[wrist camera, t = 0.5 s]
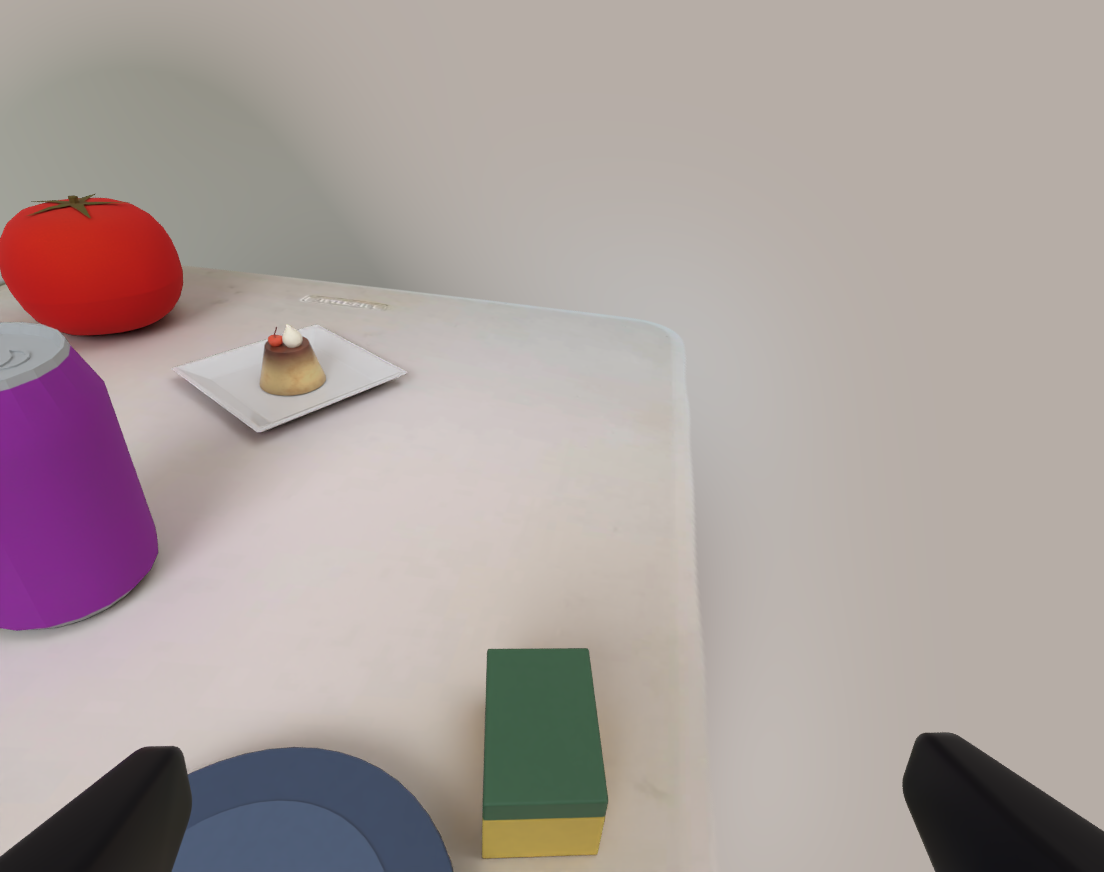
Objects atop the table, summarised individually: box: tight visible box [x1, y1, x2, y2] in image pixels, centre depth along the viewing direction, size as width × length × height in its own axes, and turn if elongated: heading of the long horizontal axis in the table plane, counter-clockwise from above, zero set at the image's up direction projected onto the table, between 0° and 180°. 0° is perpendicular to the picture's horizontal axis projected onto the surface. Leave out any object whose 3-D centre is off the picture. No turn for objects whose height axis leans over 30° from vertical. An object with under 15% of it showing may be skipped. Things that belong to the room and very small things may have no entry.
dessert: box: [171, 324, 407, 432], centre depth 47 cm, size 12×12×5 cm
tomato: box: [0, 194, 183, 335], centre depth 52 cm, size 12×12×10 cm
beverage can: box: [0, 322, 158, 631], centre depth 28 cm, size 8×8×12 cm
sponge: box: [482, 648, 608, 858], centre depth 24 cm, size 6×4×4 cm, turn 3°
